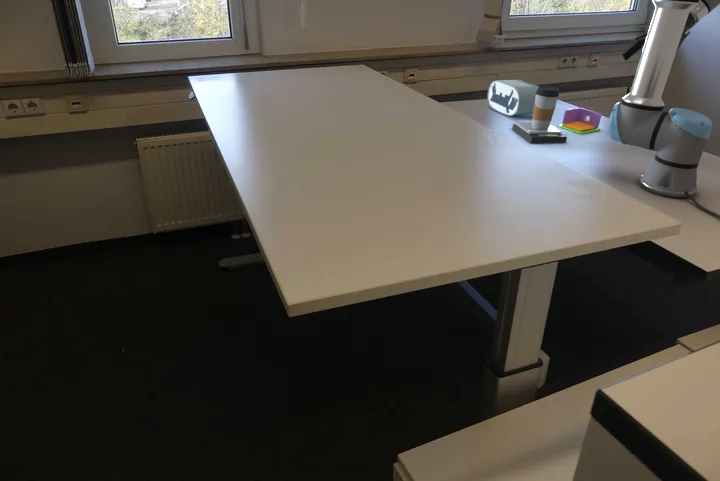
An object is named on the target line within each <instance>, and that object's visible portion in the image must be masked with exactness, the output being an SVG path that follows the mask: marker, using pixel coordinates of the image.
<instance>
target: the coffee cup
mask: <svg viewBox="0 0 720 481" xmlns="http://www.w3.org/2000/svg"><path fill="white" fill-rule="evenodd" d="M538 86H539V85H538ZM559 96H560V92H559V88H558V87H556V86H550V85H540V86H539V87H538V89H537V90H536V98H535V103H534V111H533V114H532V118H531V119H532V120H531V122H532V128H534V129H537V130H547V129H548V128H549V126H550V125H551V122H552V119H553V116H554V113H555V109H556V107H557V106H556V105H557V101H558V98H559Z"/></svg>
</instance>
